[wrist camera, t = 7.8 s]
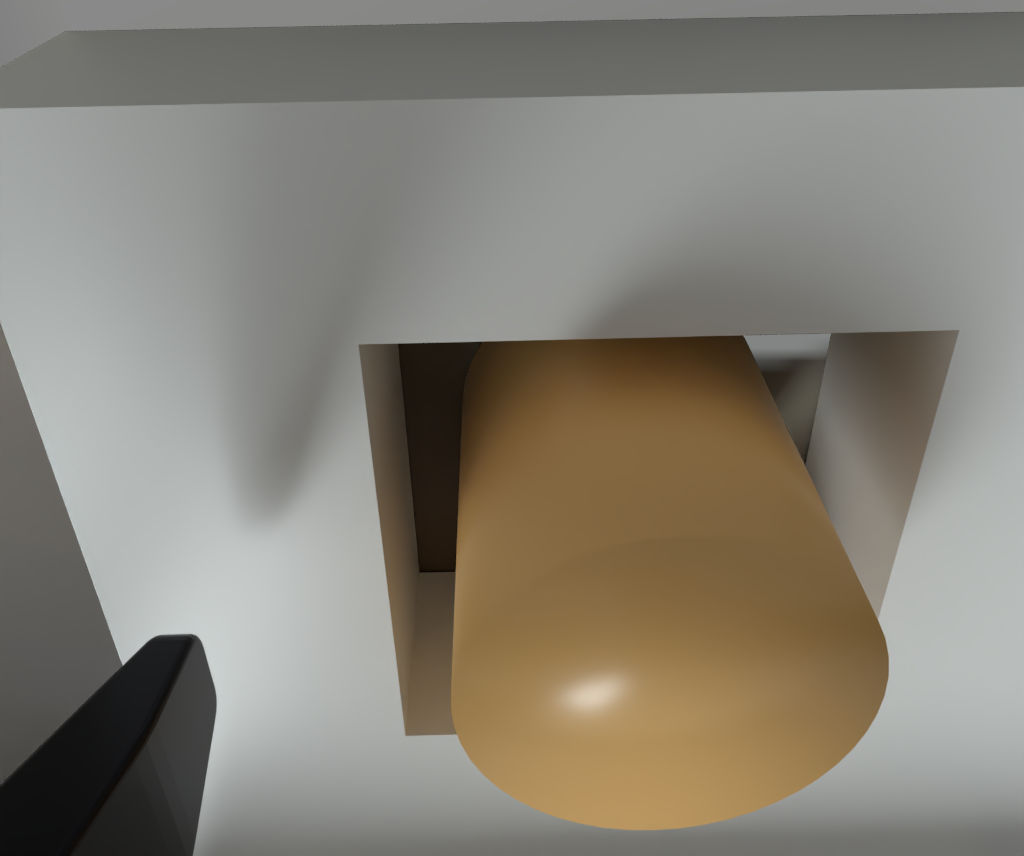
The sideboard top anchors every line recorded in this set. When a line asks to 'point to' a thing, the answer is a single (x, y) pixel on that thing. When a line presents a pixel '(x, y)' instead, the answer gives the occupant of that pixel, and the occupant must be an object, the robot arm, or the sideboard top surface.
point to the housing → (519, 317)
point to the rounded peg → (649, 587)
